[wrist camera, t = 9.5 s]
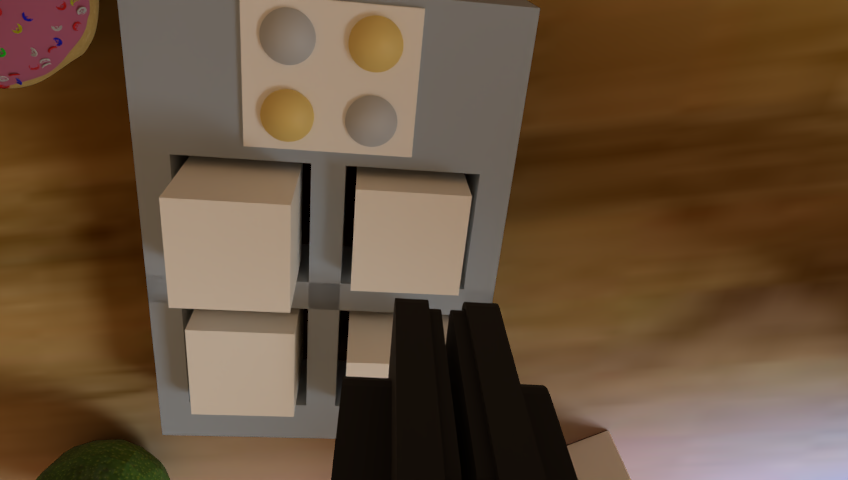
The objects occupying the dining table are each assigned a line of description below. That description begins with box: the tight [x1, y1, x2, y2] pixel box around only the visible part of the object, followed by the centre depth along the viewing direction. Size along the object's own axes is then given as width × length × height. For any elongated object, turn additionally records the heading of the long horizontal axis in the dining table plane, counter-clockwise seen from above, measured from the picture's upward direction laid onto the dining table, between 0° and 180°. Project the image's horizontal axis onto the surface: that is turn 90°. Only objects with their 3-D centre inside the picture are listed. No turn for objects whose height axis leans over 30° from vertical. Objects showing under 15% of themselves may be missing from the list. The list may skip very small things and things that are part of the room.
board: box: [117, 0, 540, 439], centre depth 32 cm, size 16×23×4 cm
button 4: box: [346, 311, 449, 378], centre depth 33 cm, size 5×5×5 cm
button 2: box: [185, 308, 304, 417], centre depth 34 cm, size 5×5×5 cm
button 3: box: [350, 166, 472, 296], centre depth 32 cm, size 5×5×5 cm
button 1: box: [159, 156, 303, 313], centre depth 29 cm, size 5×5×5 cm
